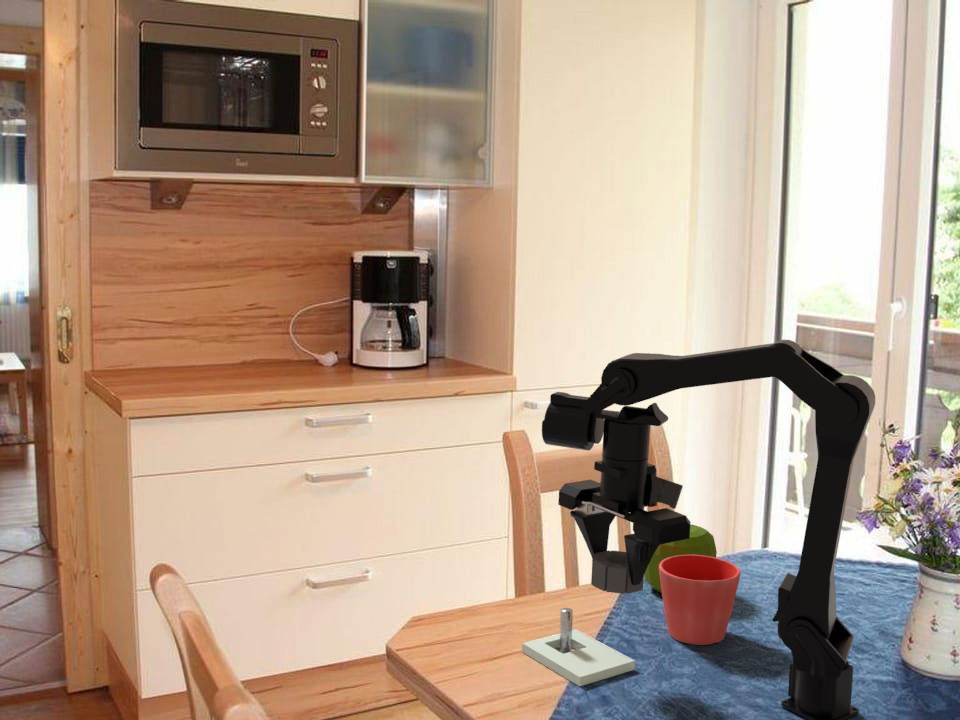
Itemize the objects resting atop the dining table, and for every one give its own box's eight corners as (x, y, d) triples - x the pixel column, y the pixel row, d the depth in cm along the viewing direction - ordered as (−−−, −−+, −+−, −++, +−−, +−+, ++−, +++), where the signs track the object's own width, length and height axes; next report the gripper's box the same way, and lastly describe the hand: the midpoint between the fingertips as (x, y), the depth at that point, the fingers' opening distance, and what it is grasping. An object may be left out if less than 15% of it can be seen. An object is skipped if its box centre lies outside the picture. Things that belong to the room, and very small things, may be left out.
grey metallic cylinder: (573, 654, 139) (575, 610, 139) (564, 657, 139) (565, 613, 138) (566, 650, 141) (567, 607, 140) (556, 652, 140) (558, 609, 139)
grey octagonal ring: (653, 587, 133) (655, 563, 133) (614, 596, 129) (616, 571, 129) (619, 571, 138) (621, 548, 138) (581, 579, 135) (582, 555, 134)
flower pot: (738, 653, 141) (742, 583, 139) (654, 645, 143) (657, 576, 141) (735, 623, 151) (739, 557, 149) (657, 616, 153) (660, 551, 152)
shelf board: (634, 669, 135) (635, 660, 135) (579, 686, 130) (579, 677, 130) (575, 637, 145) (575, 628, 145) (522, 651, 140) (522, 643, 140)
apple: (723, 586, 166) (726, 518, 164) (700, 608, 156) (703, 536, 155) (656, 572, 171) (658, 507, 170) (630, 593, 162) (632, 524, 160)
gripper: (727, 466, 128) (717, 589, 131) (623, 433, 143) (616, 544, 146) (659, 476, 122) (650, 605, 124) (558, 441, 137) (552, 557, 140)
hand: (617, 575), depth 134 cm, fingers closed on grey octagonal ring, 6 cm apart
